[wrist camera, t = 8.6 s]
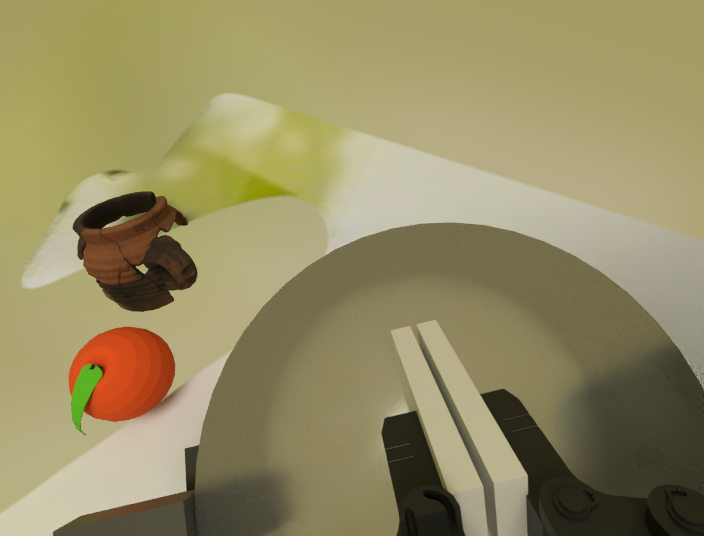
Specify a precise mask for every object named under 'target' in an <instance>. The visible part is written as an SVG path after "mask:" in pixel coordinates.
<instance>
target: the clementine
mask: <svg viewBox="0 0 704 536" xmlns="http://www.w3.org/2000/svg"><path fill="white" fill-rule="evenodd" d="M174 375H175V362H174V357H173V354H172V352H171V350H170V348H169V347H168V345H167V343H166V342H165V341H164V340H163V339H162V338H161V337H159V336H158V335H156V334H155V333H153V332H151V331H148V330H146V329H141V328H134V327H122V328H116V329H112V330H109V331H106V332H104V333H101V334H99V335H97V336H96V337H95V338H93V339H92V340H90V341H89V342H88V343H87V344H86V345H85V346H84V347H83V348H82V349H81V350H80V351H79V352H78V354H77V356H76V357H75V359H74V360H73V363H72V366H71V368H70V373H69V387H70V393H71V396H72V403H71V407H72V420H73V422H74V424H75V426H76V428H77V429H78V430H79V431H80V432H82V433H83V431H82V430H81V423H80V422H81V418H82V414H83V411H84V412H85V413H86V414H88V415H90V416H92V417H94V418H97V419H102V420H108V421H113V422H116V421H124V420H129V419H133V418H136V417H138V416H141V415H143V414H145V413H147V412H148V411H149V410H151V409H152V408H154V407H155V406H156V405H157V404H158V403H159V402H160V401H161V400H162V399H163V398H164V397H165V396H166V394H167V392H168V391H169V389H170V387H171V385H172V382H173V378H174ZM83 434H84V435H86V434H85V433H83Z"/></svg>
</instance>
